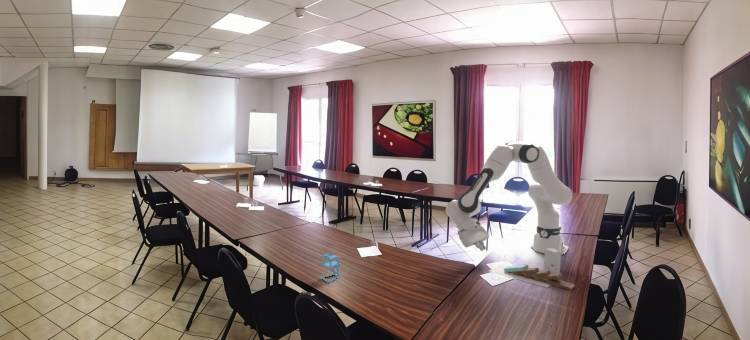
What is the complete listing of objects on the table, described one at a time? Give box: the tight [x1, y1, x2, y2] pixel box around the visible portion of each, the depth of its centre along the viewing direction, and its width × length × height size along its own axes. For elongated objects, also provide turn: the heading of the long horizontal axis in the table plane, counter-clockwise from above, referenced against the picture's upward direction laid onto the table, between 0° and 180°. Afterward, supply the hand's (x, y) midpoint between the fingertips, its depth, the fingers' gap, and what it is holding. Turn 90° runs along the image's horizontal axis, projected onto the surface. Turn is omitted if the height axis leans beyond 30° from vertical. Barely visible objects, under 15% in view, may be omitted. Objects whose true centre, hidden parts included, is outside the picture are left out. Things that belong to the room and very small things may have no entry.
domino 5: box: [547, 278, 576, 291], centre depth 162 cm, size 2×5×10 cm
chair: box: [319, 252, 342, 283], centre depth 173 cm, size 8×8×12 cm
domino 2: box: [514, 266, 540, 275], centre depth 173 cm, size 2×5×10 cm
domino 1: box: [504, 264, 530, 272], centre depth 176 cm, size 2×5×10 cm
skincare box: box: [543, 248, 562, 273], centre depth 176 cm, size 6×4×12 cm
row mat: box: [488, 264, 551, 288], centre depth 174 cm, size 13×28×1 cm, turn 44°
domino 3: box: [524, 269, 550, 278], centre depth 169 cm, size 2×5×10 cm
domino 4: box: [535, 272, 563, 281], centre depth 166 cm, size 2×5×10 cm
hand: (483, 249), depth 188 cm, fingers closed
